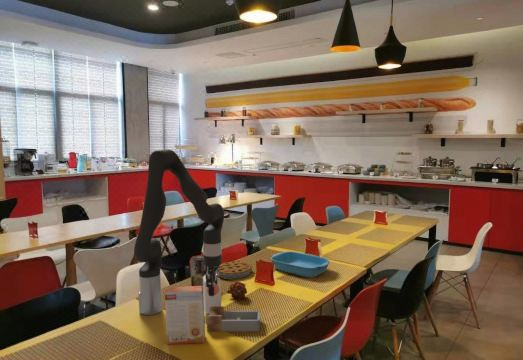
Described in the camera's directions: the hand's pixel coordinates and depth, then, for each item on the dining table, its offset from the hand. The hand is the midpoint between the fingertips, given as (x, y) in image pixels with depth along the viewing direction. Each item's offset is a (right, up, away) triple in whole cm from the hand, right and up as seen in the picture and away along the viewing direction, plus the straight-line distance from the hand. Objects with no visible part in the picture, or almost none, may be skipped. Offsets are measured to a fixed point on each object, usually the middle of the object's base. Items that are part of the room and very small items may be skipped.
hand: (213, 292), depth 163 cm
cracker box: (-9, -16, -9) cm, 21 cm away
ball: (0, +2, 0) cm, 2 cm away
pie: (+4, -8, +66) cm, 67 cm away
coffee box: (-12, -10, +45) cm, 48 cm away
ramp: (+1, -14, +2) cm, 15 cm away
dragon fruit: (+8, -12, +32) cm, 35 cm away
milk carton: (-2, -13, +17) cm, 22 cm away
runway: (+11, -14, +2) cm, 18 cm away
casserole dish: (+43, -7, +71) cm, 83 cm away
